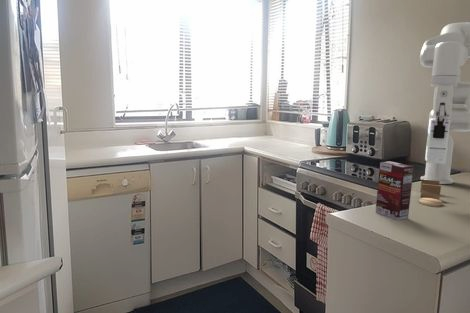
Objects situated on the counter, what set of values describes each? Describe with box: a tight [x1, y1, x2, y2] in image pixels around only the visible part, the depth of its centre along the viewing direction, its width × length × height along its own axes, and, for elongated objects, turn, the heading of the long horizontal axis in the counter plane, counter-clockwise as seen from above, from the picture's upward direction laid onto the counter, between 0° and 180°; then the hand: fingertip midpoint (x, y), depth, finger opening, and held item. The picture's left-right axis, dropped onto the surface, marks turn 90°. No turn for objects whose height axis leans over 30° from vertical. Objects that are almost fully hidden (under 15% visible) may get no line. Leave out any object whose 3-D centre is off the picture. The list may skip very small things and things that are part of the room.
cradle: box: [420, 179, 442, 200], centre depth 142 cm, size 10×6×5 cm, turn 155°
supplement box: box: [375, 160, 415, 221], centre depth 116 cm, size 9×5×16 cm, turn 29°
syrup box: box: [424, 118, 450, 164], centre depth 128 cm, size 6×6×14 cm
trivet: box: [418, 197, 443, 207], centre depth 132 cm, size 7×7×1 cm
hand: (437, 136), depth 128 cm, fingers closed on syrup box, 6 cm apart
